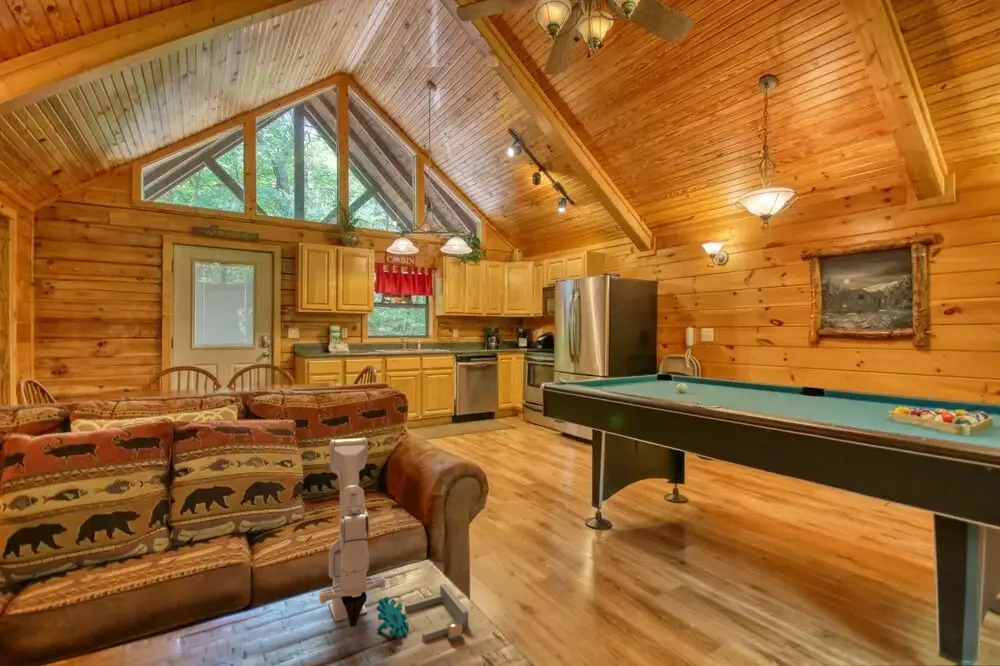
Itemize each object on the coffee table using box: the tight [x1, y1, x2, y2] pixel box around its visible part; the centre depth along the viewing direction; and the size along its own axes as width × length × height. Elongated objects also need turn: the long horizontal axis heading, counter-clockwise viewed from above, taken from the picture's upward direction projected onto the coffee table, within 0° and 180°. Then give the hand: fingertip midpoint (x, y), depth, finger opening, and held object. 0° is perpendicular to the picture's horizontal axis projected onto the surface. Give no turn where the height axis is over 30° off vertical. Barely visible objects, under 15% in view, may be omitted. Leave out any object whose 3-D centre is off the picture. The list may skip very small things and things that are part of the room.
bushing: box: [446, 619, 463, 643], centre depth 114 cm, size 4×4×3 cm
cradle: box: [404, 583, 469, 642], centre depth 121 cm, size 14×12×4 cm
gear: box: [376, 596, 410, 639], centre depth 116 cm, size 11×6×10 cm
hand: (352, 624), depth 111 cm, fingers closed
